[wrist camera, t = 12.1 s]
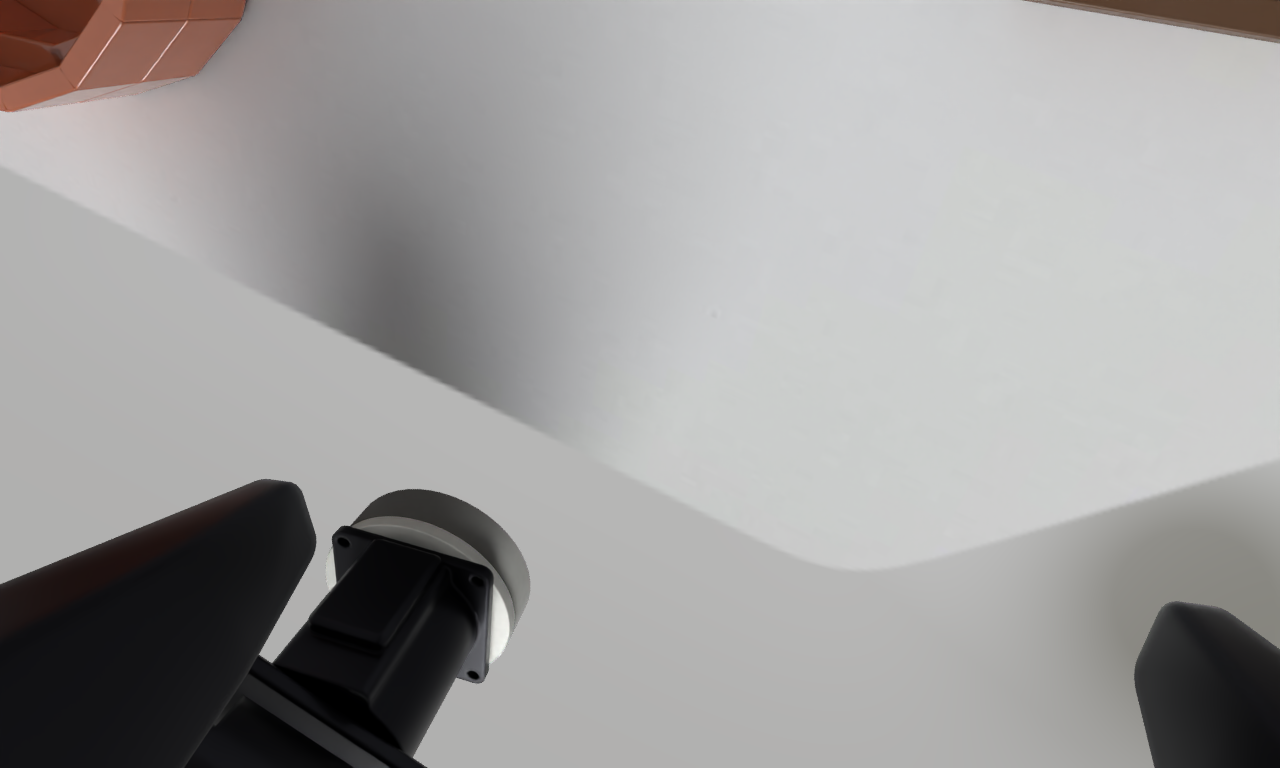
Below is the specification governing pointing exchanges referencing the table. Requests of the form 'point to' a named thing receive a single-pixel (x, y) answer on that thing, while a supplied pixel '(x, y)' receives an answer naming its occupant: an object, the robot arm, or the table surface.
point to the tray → (1193, 14)
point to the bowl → (104, 47)
